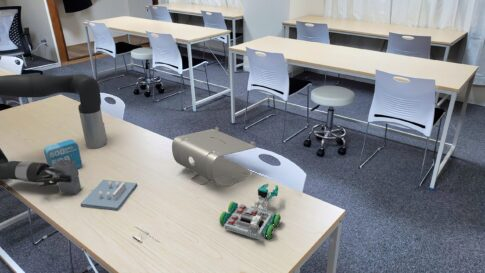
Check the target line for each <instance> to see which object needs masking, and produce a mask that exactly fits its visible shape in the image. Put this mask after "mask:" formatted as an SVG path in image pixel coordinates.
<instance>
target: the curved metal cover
mask: <svg viewBox="0 0 485 273" xmlns="http://www.w3.org/2000/svg"><path fill="white" fill-rule="evenodd" d="M219 130H220V128H219V127H217V126H215V127H214V128H210V129H206V130H201V131H197V132H191V133H188V134H183V135H178V136H176V137H174V139H173V140H172V143H171V154H172V157H173V160H175V162H176V163H177V164H178V165H180V166H182V167H184V168H186V169H188V170H190V171H191V172H193V173H196V174H195V175H194V176H192V177H191V178H190V180H191V181H192V182H194V183H196V184H197V185H201V186H203V185H206V184H208V183H210V182H212V183H213V184H215V185H216V186H219V187H230V186H233V185H235V184H237V183H239V182H241V181H243V180H244V179H247V178H248V177H249V176H250V175H251V173H252V172H251V171H250V170H249V169H248V168H246V167H245V166H243V165H241V164H240V163H237V162H235V161H234V160H231V159H229V158H227V157H224V156H228V155H231V154H236V153H241V152H244V151H248V150H252V149H256V148H257V147H256V142H254V141H250V143H248V142H246V141H244V140H241V139H239V138H237V137H234V136H231V135H230V134H226V133H224V132H222V131H219ZM190 158H192V159H193V162H190Z"/></svg>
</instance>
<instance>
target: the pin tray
mask: <svg viewBox="0 0 485 273" xmlns="http://www.w3.org/2000/svg"><path fill="white" fill-rule="evenodd" d="M137 187H138V183H137V182H129V181H119V180H110V179H102V180H101V182H100V183H99V184H98V185H97V186H95V187H94V189H93V190H92V191H91V192H90V193H89V194H88V195H87V196H86V197H85V198H84V199H83V200H82V201H81V202H80V207H82V208H83V207H84V208H90V209H98V210H99V209H100V210H110V211H116V212H117V211H119V210H120V208H122V206H123V205H124V203H125V202H126V201H127V199H128V198H129V197H130V196H131V194H132V193H134V191H135V189H136V188H137Z"/></svg>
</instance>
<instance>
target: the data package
mask: <svg viewBox="0 0 485 273" xmlns="http://www.w3.org/2000/svg"><path fill="white" fill-rule="evenodd" d="M43 154H44V157H45V160H46V161H45V162H46V164H47V165H49V166H54V164H55V163H57V162H58V161H59V160H70V161H75V162H76V167H77V170H78V169H81V167H82V166H83V163H82V157H81V153H80V148H79V144H78V143H77V142H76V141H75V140H74V139H66V140H63V141H60V142H57V143H53V144H49V145H47V146H45V147H44V148H43Z"/></svg>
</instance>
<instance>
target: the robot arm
mask: <svg viewBox="0 0 485 273" xmlns="http://www.w3.org/2000/svg"><path fill="white" fill-rule="evenodd" d="M62 93H66V94H68V93H69V94H76V95H79V96H78V97H79V101H80V104H78V113H79V118H80V123H81V126H82V132H83V137H84V143H85V146H86V148H87V149H99V148H102V147H104V146H106V145H107V141H108V137H107V132H106V131H107V130H106V126H105V123H104V121H103V115H102V109H101V108H102V107H101V105H102V98H101V88H100V85H99V82H98V81H97V80H96V79H95V78H94V77H91V76H89V75H87V74H82V73H81V74H80V73H77V74H69V75H52V74H50V75H49V74H36V73H35V74H34V73H30V74H29V73H28V74H25V73H24V74H23V73H22V74H8V75H7V74H6V75H5V74H4V75H0V96H1V97H2V96H3V97H12V98H24V99H25V98H27V99H28V98H29V99H30V98H43V97H49V96H52V95H56V94H62ZM77 171H78V176H79V170H78V169H77ZM4 180H5V181H6V180H17V181H23V182H28V183H38V186H39V187H50V186H51V187H52V186H58V183H61V182H69V183H70V182H71V181H72V180H71V177H70V176H60V175H56V173H55V169H54V166H49V165H47V162H36V161H19V160H11V161H9V159H8V158H7V156H6V154H5V153H4V151H3V150H2V149H1V147H0V181H4Z"/></svg>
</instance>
